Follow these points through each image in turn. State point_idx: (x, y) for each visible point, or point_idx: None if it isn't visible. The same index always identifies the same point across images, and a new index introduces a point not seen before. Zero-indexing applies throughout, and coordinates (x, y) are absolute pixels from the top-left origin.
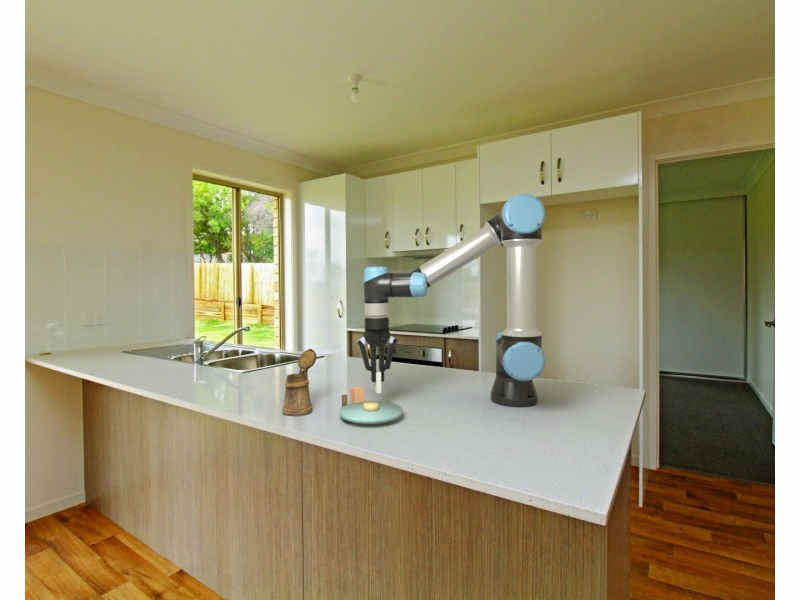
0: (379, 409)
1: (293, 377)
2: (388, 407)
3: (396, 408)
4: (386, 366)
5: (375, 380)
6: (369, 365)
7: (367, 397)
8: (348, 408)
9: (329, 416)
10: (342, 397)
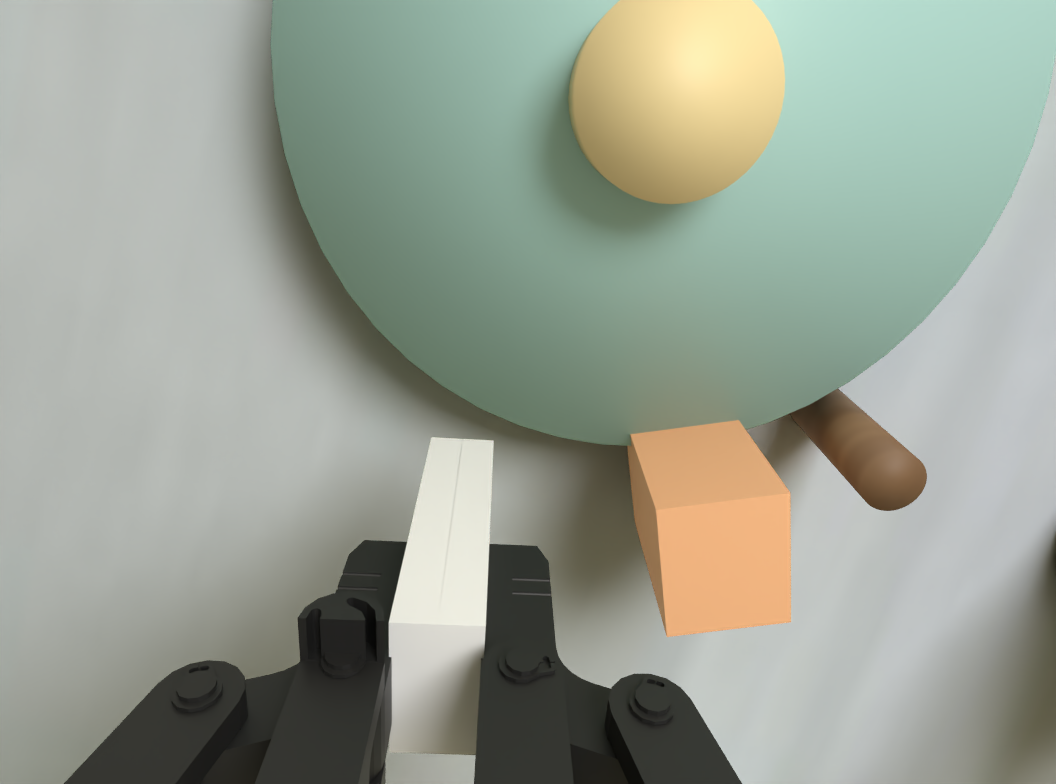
0: (564, 65)
1: None
2: (431, 112)
3: (344, 28)
4: (229, 712)
5: (496, 562)
6: (643, 768)
7: None
8: (890, 239)
9: (1003, 308)
10: (915, 458)
